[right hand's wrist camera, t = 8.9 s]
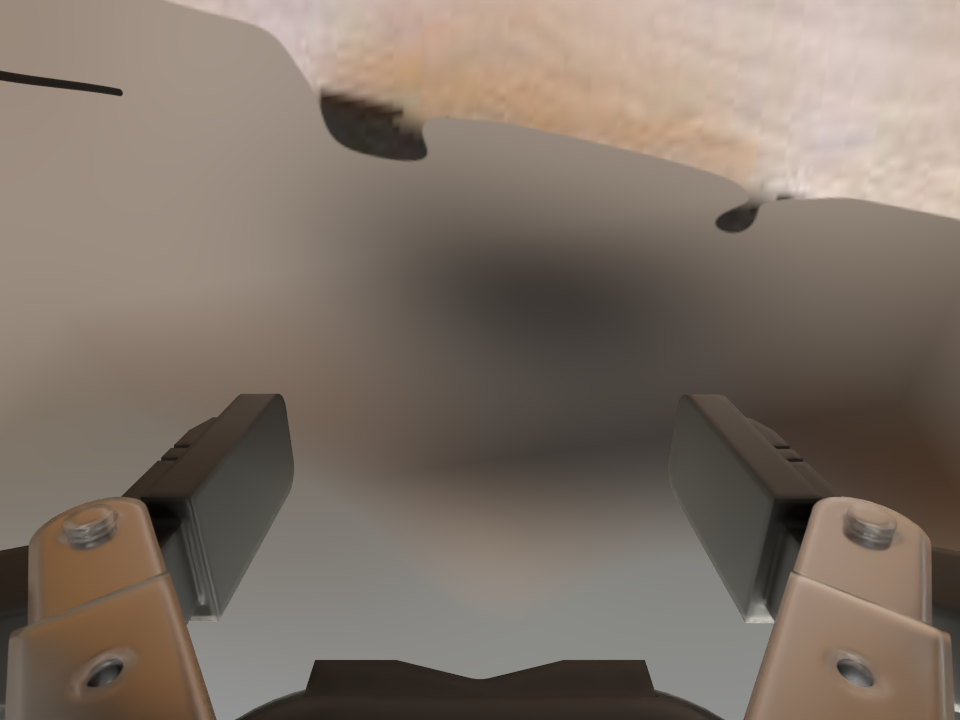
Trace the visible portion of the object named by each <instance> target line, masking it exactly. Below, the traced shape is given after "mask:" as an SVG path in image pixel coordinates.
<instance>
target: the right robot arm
mask: <svg viewBox="0 0 960 720" xmlns="http://www.w3.org/2000/svg"><path fill="white" fill-rule="evenodd" d="M0 80H1V81H7V82H14V83H21V84H28V85H36V86H45V87H53V88H62V89H71V90H79V91H88V92H95V93H102V94H109V95H116V96H122V95H123V91H122V90H121V89H118V88H113V87H107V86H101V85H95V84H89V83H82V82H75V81H67V80H60V79H52V78H45V77H38V76H31V75H24V74H18V73H11V72H6V71H0ZM293 476H294V461H293V454H292V447H291V440H290V433H289V426H288V419H287V412H286V405H285V402H284V399H283V397H282V396H281V395H280V394H240V395H239V396H238V397H237V398H236V399H235V400H234V401H233V402H232V403H231V404H230V405H229V406H228V407H227V408H226V409H225V410H224V411H223V412H222V413H221V414H220V415H219V416H218V417H217V418H211V419H209V420H207V421H206V422H204V423H202V424H200V425H198V426H196V427H194V428H193V429H191V430H189V431H188V432H187V433H186V434H185V435H184V436H183V437H182V438H181V439H180V440H179V441H178V442H177V443H176V444H175V445H174V448H171V449H170V450H169V451H167V452H166V453H165V454H164V455H163V456H162V458H161V461H157V462H156V463H155V464H154V465H153V466H152V467H151V468H150V469H149V470H148V471H147V472H146V473H145V474H144V475H143V476H142V477H141V478H140V479H139V480H138V481H137V482H136V483H135V484H134V485H133V486H132V487H131V488H130V489H129V490H128V491H127V492H126V493H124V494H123V495H122V496H121V497H112V498H105V499H99V500H95V501H91V502H88V503H85V504H82V505H79V506H76V507H74V508H71V509H69V510H67V511H65V512H63V513H61V514H59V515H57V516H56V517H54V518H52V519H51V520H49V521H48V522H47V523H45V524H44V525H43V526H42V527H40V528H39V529H38V530H37V531H36V533H35V534H34V535H33V536H32V538H31V540H30V543H29V545H28V546H23V547H18V548H12V549H7V550H2V551H0V720H217V719H216V716H215V713H214V710H213V707H212V704H211V701H210V697H209V694H208V691H207V688H206V685H205V682H204V679H203V676H202V672H201V669H200V666H199V663H198V660H197V657H196V654H195V650H194V647H193V644H192V641H191V638H190V635H189V632H188V629H187V624H188V622H189V621H219V620H220V618H221V616H222V614H223V612H224V611H225V609H226V607H227V605H228V603H229V601H230V600H231V598H232V596H233V594H234V592H235V591H236V589H237V587H238V585H239V583H240V582H241V580H242V578H243V576H244V574H245V572H246V571H247V569H248V567H249V565H250V563H251V562H252V560H253V558H254V556H255V554H256V552H257V551H258V549H259V547H260V545H261V543H262V542H263V540H264V538H265V536H266V534H267V532H268V531H269V529H270V527H271V525H272V523H273V522H274V520H275V518H276V516H277V514H278V513H279V511H280V509H281V507H282V505H283V503H284V502H285V500H286V498H287V496H288V494H289V492H290V490H291V487H292V483H293ZM669 478H670V484H671V488H672V491H673V493H674V496H675V497H676V499H677V501H678V503H679V505H680V506H681V508H682V510H683V512H684V513H685V515H686V517H687V519H688V521H689V522H690V524H691V526H692V528H693V530H694V531H695V533H696V535H697V537H698V539H699V540H700V542H701V544H702V546H703V548H704V549H705V551H706V553H707V555H708V557H709V558H710V560H711V562H712V564H713V566H714V567H715V569H716V571H717V573H718V574H719V576H720V578H721V580H722V581H723V583H724V585H725V587H726V589H727V591H728V592H729V594H730V596H731V598H732V600H733V601H734V603H735V605H736V607H737V609H738V610H739V612H740V614H741V616H742V618H743V619H744V621H745V623H774V625H773V629H772V632H771V635H770V638H769V641H768V644H767V647H766V651H765V654H764V657H763V660H762V663H761V666H760V669H759V672H758V676H757V679H756V682H755V685H754V688H753V691H752V694H751V697H750V701H749V704H748V707H747V710H746V713H745V716H744V719H743V720H960V552H959V551H954V550H949V549H944V548H939V547H934V546H931V543H930V540H929V538H928V536H927V535H926V534H925V533H924V531H923V530H922V529H921V528H920V527H918V526H917V525H916V524H915V523H913V522H912V521H911V520H909V519H908V518H906V517H904V516H903V515H901V514H899V513H897V512H895V511H893V510H891V509H889V508H886V507H884V506H881V505H878V504H875V503H872V502H869V501H865V500H861V499H856V498H848V497H842V496H841V495H840V494H839V493H838V492H837V491H836V490H835V489H834V488H833V487H832V486H831V485H829V484H828V483H827V482H826V481H825V480H824V479H823V478H822V477H821V476H820V475H819V474H818V473H817V472H816V471H815V470H814V469H813V468H812V467H811V466H810V465H809V464H808V463H807V462H803V459H802V457H801V456H799V455H798V454H797V453H796V452H795V451H794V450H793V449H790V446H789V445H788V444H787V443H786V442H785V441H784V440H783V439H782V438H781V437H780V436H779V435H778V434H777V433H776V432H775V431H773V430H771V429H769V428H767V427H766V426H764V425H762V424H760V423H758V422H756V421H754V420H753V419H751V418H745V417H744V416H743V414H742V413H741V412H740V411H739V410H738V409H737V408H736V407H735V406H734V405H733V404H732V403H731V402H730V401H729V400H728V399H727V398H726V397H725V396H723V395H683V396H682V397H681V398H680V400H679V402H678V406H677V412H676V419H675V426H674V433H673V440H672V447H671V454H670V461H669ZM236 720H724V719H722V718H721V717H719V716H717V715H716V714H714V713H712V712H710V711H709V710H707V709H705V708H703V707H701V706H699V705H696V704H694V703H692V702H690V701H688V700H686V699H683V698H680V697H677V696H674V695H671V694H669V693H666V692H662V691H658V690H654V687H653V684H652V681H651V678H650V675H649V672H648V669H647V665H646V662H645V660H562V661H558V662H554V663H550V664H546V665H542V666H538V667H534V668H529V669H525V670H521V671H517V672H513V673H509V674H505V675H501V676H497V677H492V678H488V679H472V678H467V677H463V676H459V675H455V674H451V673H447V672H443V671H439V670H435V669H431V668H426V667H422V666H418V665H414V664H410V663H406V662H402V661H398V660H315V662H314V666H313V669H312V672H311V675H310V678H309V681H308V684H307V687H306V690H302V691H298V692H294V693H291V694H289V695H286V696H283V697H280V698H277V699H274V700H272V701H270V702H268V703H266V704H264V705H262V706H259V707H257V708H255V709H253V710H251V711H250V712H248V713H246V714H244V715H243V716H241V717H239V718H237V719H236Z"/></svg>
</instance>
